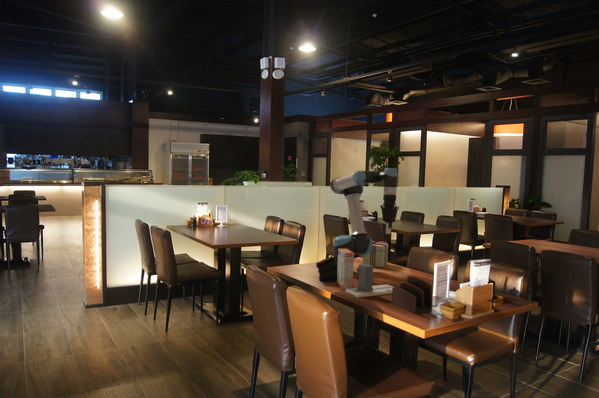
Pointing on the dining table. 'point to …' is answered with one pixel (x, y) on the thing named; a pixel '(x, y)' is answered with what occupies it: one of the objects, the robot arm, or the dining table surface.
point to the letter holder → (413, 295)
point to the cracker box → (345, 268)
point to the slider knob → (365, 277)
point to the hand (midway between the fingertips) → (388, 233)
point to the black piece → (327, 270)
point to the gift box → (377, 255)
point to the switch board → (376, 291)
